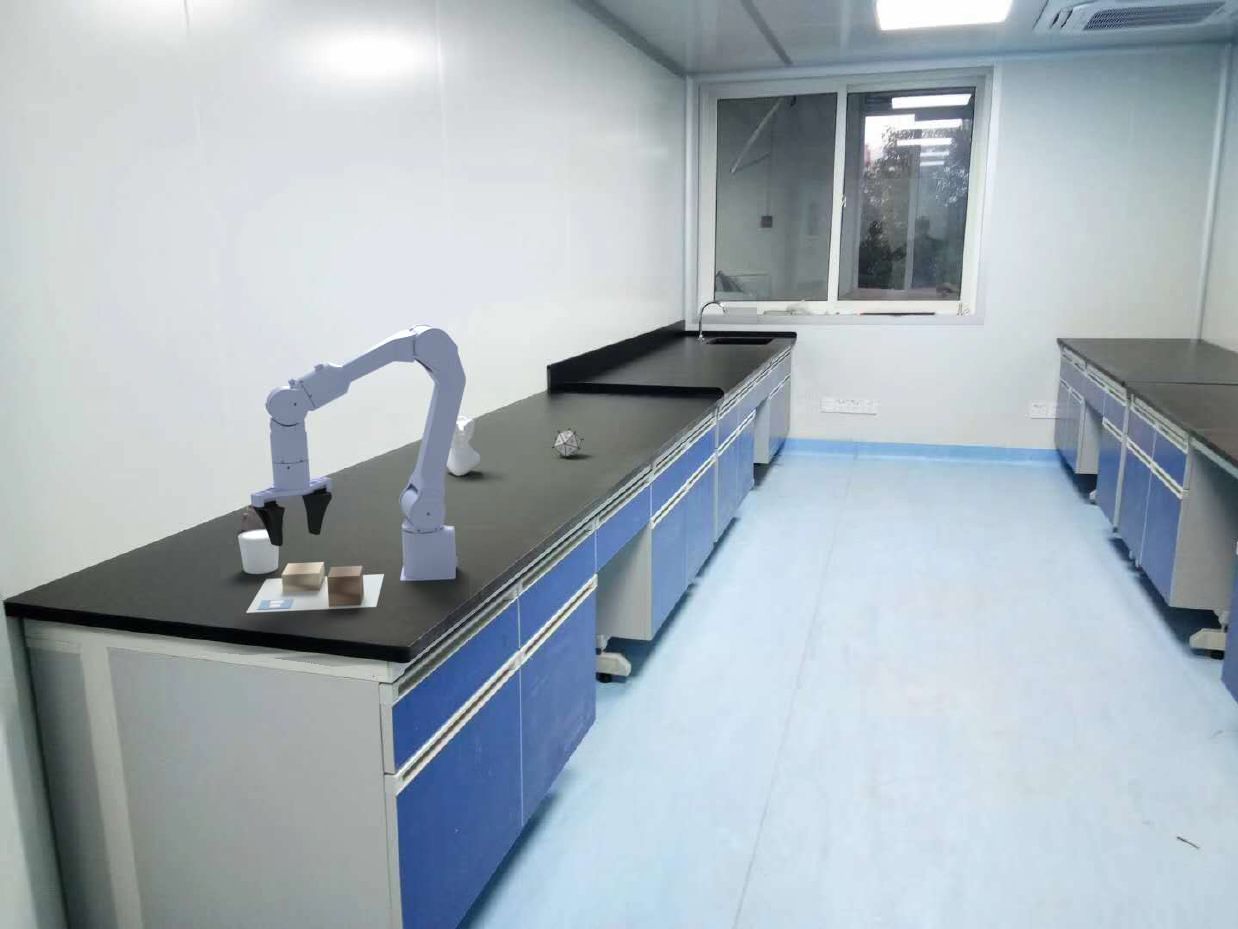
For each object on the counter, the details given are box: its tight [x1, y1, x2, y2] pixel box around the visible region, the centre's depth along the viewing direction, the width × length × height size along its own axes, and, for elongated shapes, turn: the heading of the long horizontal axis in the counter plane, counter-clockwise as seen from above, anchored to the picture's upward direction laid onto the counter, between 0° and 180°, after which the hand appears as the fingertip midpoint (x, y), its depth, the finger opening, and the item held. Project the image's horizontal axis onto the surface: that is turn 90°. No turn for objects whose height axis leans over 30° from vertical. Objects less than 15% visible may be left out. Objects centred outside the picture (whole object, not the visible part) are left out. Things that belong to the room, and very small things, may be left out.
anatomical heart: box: [446, 415, 481, 477], centre depth 244 cm, size 10×11×15 cm
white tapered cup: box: [237, 529, 280, 575], centre depth 170 cm, size 7×7×7 cm
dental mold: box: [241, 504, 285, 532], centre depth 196 cm, size 8×7×5 cm
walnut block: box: [326, 565, 364, 607], centre depth 155 cm, size 5×5×5 cm
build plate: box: [245, 573, 385, 614], centre depth 159 cm, size 20×16×1 cm
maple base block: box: [281, 561, 326, 592], centre depth 162 cm, size 6×6×3 cm
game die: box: [550, 427, 584, 458], centre depth 268 cm, size 9×8×10 cm
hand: (296, 539), depth 159 cm, fingers open, 7 cm apart
